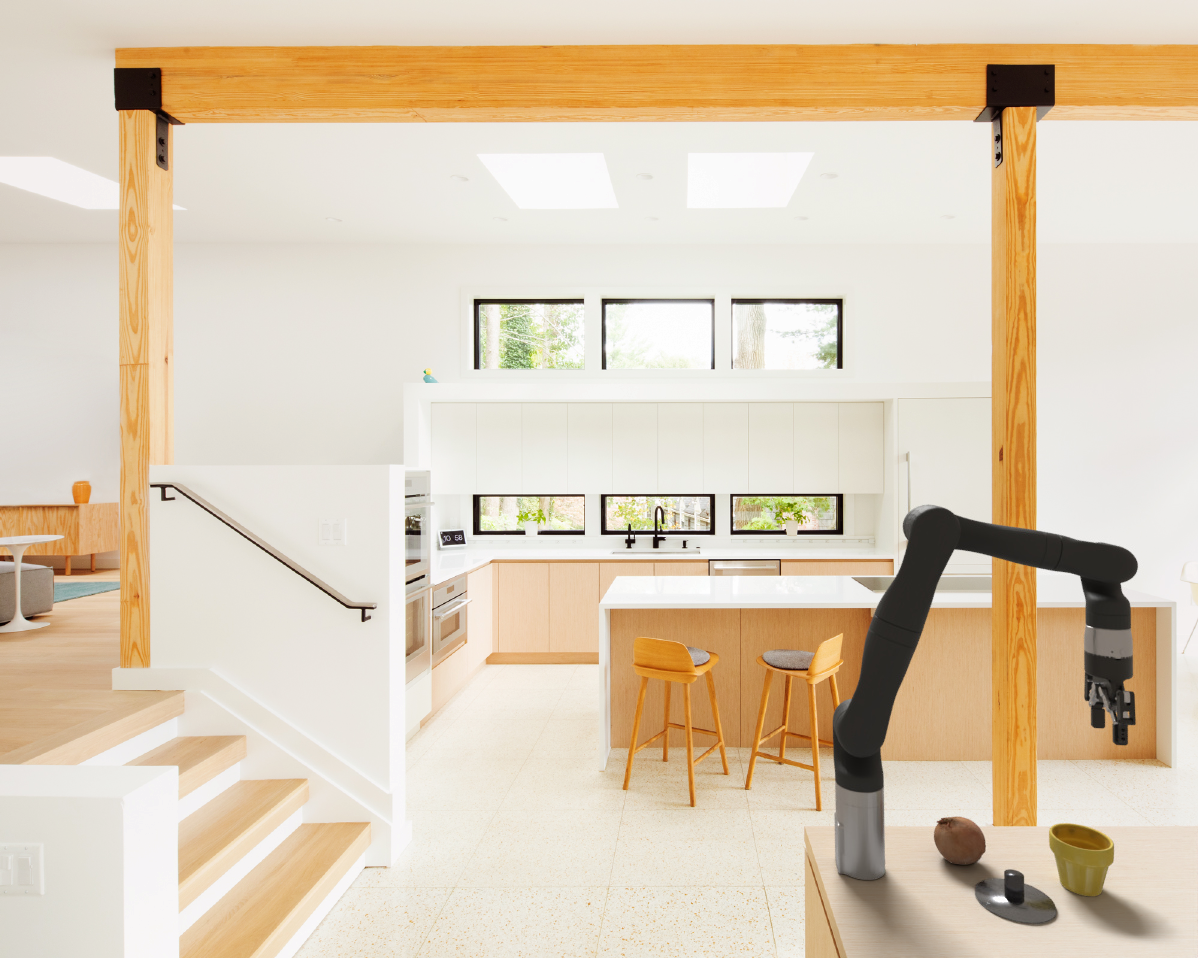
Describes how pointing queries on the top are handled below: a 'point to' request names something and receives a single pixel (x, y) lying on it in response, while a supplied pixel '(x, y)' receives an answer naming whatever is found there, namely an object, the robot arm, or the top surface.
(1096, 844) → the plant pot
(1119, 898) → the top surface
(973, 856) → the onion
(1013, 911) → the lid
